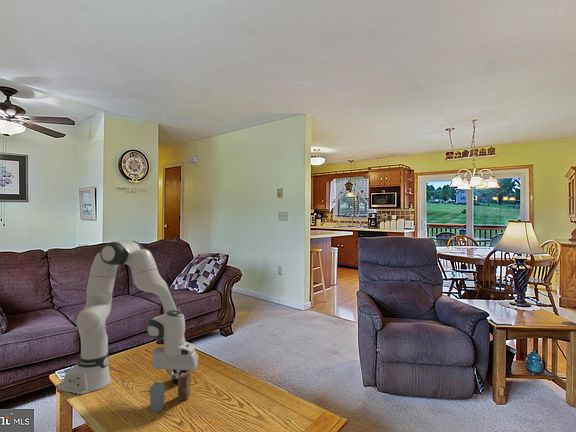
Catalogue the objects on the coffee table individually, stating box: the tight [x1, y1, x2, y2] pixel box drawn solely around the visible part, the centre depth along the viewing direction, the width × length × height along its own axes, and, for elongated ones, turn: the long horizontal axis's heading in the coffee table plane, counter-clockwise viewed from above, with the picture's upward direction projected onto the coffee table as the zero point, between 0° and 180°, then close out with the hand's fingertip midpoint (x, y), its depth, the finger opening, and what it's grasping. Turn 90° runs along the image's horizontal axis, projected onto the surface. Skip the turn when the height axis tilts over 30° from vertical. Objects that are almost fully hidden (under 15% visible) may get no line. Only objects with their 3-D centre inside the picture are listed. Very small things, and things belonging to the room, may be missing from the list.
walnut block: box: [177, 372, 191, 401], centre depth 145 cm, size 4×4×10 cm
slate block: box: [149, 381, 165, 412], centre depth 137 cm, size 4×4×10 cm
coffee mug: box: [171, 370, 188, 385], centre depth 160 cm, size 12×9×10 cm
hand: (174, 378), depth 145 cm, fingers closed
